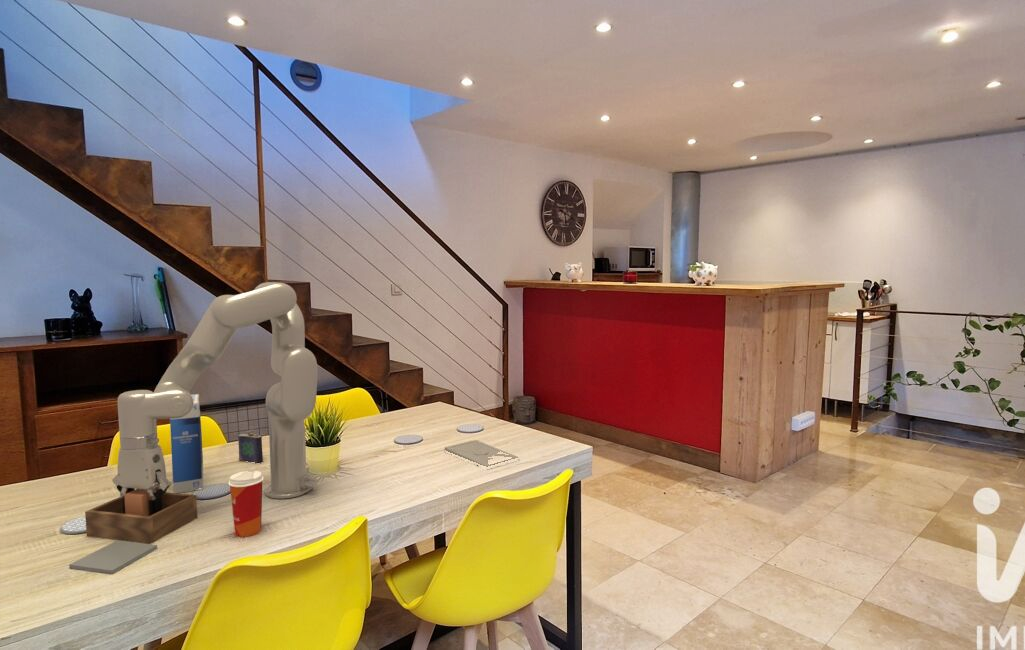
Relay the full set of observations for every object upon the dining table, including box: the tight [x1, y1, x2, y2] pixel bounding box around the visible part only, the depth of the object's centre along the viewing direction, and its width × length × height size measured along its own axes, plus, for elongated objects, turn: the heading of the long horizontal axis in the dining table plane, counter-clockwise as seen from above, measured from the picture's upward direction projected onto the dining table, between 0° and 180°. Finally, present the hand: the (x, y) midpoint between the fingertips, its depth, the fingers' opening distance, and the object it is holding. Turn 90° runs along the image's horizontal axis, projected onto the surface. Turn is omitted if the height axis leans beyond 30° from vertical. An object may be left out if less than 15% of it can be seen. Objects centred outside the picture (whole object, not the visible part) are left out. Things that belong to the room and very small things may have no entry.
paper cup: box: [228, 470, 264, 538], centre depth 131 cm, size 8×8×14 cm
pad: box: [68, 540, 158, 575], centre depth 119 cm, size 11×11×1 cm
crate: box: [84, 491, 198, 544], centre depth 134 cm, size 18×14×6 cm
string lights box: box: [169, 393, 204, 494], centre depth 161 cm, size 13×8×26 cm, turn 29°
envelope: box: [444, 439, 519, 467], centre depth 187 cm, size 24×2×14 cm
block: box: [124, 488, 156, 516], centre depth 134 cm, size 5×5×6 cm
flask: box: [237, 429, 264, 464], centre depth 182 cm, size 9×3×11 cm, turn 71°
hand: (143, 511), depth 134 cm, fingers open, 6 cm apart
